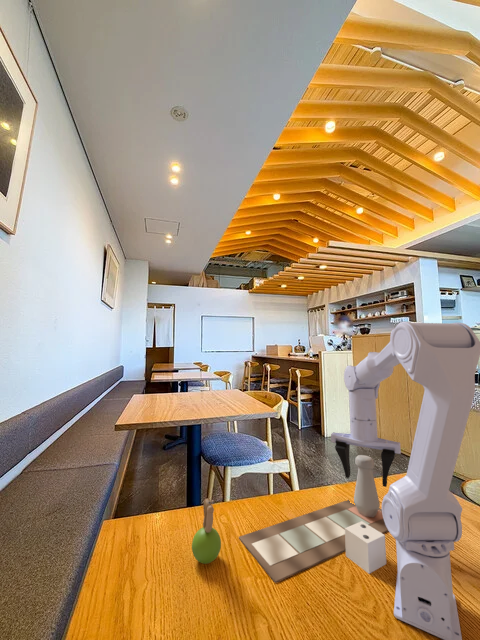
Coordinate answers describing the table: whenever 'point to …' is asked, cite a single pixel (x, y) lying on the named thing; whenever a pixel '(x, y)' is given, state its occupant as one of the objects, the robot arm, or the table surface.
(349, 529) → the die
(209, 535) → the green ball handle toy
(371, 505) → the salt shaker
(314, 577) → the table surface
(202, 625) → the table surface
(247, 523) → the table surface
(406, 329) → the robot arm
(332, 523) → the game board
